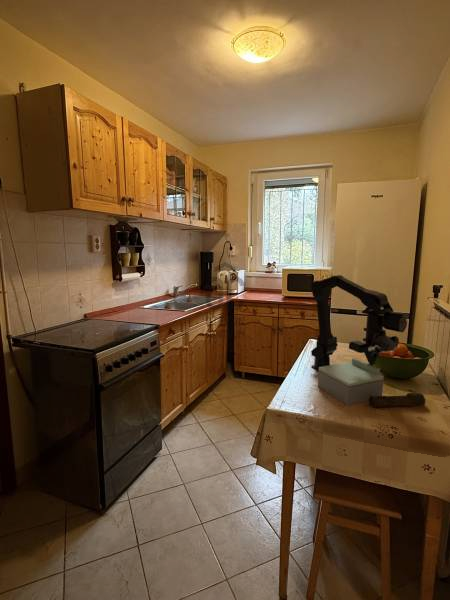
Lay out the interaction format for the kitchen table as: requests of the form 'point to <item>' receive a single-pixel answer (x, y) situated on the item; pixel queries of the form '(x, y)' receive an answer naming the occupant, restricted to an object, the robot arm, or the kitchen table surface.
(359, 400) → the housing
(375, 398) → the dark brown rough bar
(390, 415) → the kitchen table surface
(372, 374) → the lid
